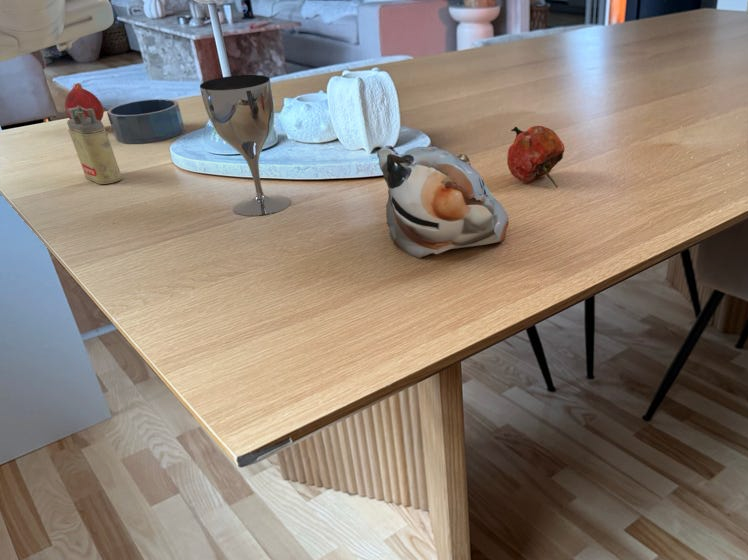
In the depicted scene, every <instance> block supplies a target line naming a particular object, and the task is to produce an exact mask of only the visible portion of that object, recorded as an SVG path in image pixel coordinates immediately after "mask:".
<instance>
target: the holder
mask: <svg viewBox="0 0 748 560" xmlns="http://www.w3.org/2000/svg"><path fill="white" fill-rule="evenodd" d="M106 115H107V117H108V120H109V124H110V127H111V130H112V133H113V136H114V137H115V140H116V141H117V142H118V143H122V144H130V145H138V144H150V143H157V142H163V141H165V140H169V139H173V138H176V137H178V136H180V135H182V134H183V133H184V132H185V131H186V128H185V122H184V119H183V116H182V112H181V108H180V105H179V102H178V101H177V100H175V99H170V98H150V99H142V100H134V101H129V102H125V103H121V104H118V105H115V106H112V107H111V108H109V109H107V112H106Z"/></svg>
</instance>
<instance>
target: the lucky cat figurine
mask: <svg viewBox="0 0 748 560" xmlns="http://www.w3.org/2000/svg"><path fill="white" fill-rule="evenodd" d="M376 153H377V154H376V157H377V158H378V165H379V169H380V171H381V172H382V176H383V178H384V181H385V183H386V185H387V189H388V190H387V193H388V197H387V202H386V205H385V212H386V213H385V215H386V217H385V218H386V225H387V227H388V230H389V237H390V240H391V241H392V243H393V246H395V247H398V248H400V249H401V250H402V251H404V252H406V253H408V254H409V255H411V256H413V257H416V258H417V259H422V258H425V257H426V256H429V255H431V254H435V255H439V254H441V253H444V252H446V251H449V250H453V249H460V248H469V247H470V248H471V247H477V246H478V247H479V246H484V245H490V244H497V243H503V242H504V241H505V239H506V235H507V229H508V227H509V218H510V217H509V215H508V213H507V211H506V210H505V208H504V207H503V205H502V204H501V203H500V201H498V200H497V199H496V198H495V197H494V195H493V194H492V192H491V190H490V189H489V187H488V186H487V185H486V183H485V180H484V179H483V177H482V176H481V174H480V173H479V172H478V170H476V169H475V168H474V167H473V166H472V165H471V164H472V163H471V160H470V158H469V157H468V155H466V154H464V153H459V154H458V155H457V156H456V155H455V154H452V153H451V152H449V151H448V150H445V149H441V148H439V147H438V146H417V147H413V148H411V149H408V150H406V151H405V152H403V153H399V152H397V151H396V149H394V147H393V146H392V145H385V146H382V147H381V148H380V149H379V150H378V151H377V152H376Z"/></svg>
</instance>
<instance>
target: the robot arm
mask: <svg viewBox="0 0 748 560" xmlns="http://www.w3.org/2000/svg"><path fill="white" fill-rule="evenodd" d="M114 17H115V16H114V10H113V6H112V4H111V2H110V1H109V0H0V63H2V62H5V61H8V60H13V59H15V58H18V57H22V56H25V55H28V54H31V53H33V52H38V51H41V50H43V49H48V48H51V47H53V46H56V49H57V50H58V52H63V51H67V50H70V49H72V48H73V43H75V42H76V41H77V40H79V38H83V37H86V36H90V35H93V34H96V33H100V32H102V31H105V30H107V29H108V28H110V27H111V26H112V25H113V24H114V21H115V19H114Z"/></svg>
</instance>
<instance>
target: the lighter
mask: <svg viewBox="0 0 748 560" xmlns="http://www.w3.org/2000/svg"><path fill="white" fill-rule="evenodd" d="M83 110H84V111H87V112H88V114H89V116H90V117H87V116H85V114H84V113H83ZM67 112H68V113H69V114H70V115H71V117H72V119H68V120H67V121H66V124H67V126H68V133H69V136H70V138H71V141H72V143H73V146H74V149H75V152H76V154H77V158H78V160H79V162H80V163H79V164H80V165H81V168H82V171H83V174H84V178H85V179H87V180H89V181H92V182H93V183H96V184H99V185H107V184H114V183H117V182H119V181H121V180H123V175H122V174H121V171H120V168H119V165H118V161H117V159H116V156H115V152H114V150H113V147H112V145H111V141H110V138H109V135H108V132H107V129H105V127H104V124H103V122H102V120H101V121H99V120H97V119H96V117H95V112H94V109H85V108H83V107H82V106H77V107H75V108H68V109H67Z"/></svg>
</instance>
